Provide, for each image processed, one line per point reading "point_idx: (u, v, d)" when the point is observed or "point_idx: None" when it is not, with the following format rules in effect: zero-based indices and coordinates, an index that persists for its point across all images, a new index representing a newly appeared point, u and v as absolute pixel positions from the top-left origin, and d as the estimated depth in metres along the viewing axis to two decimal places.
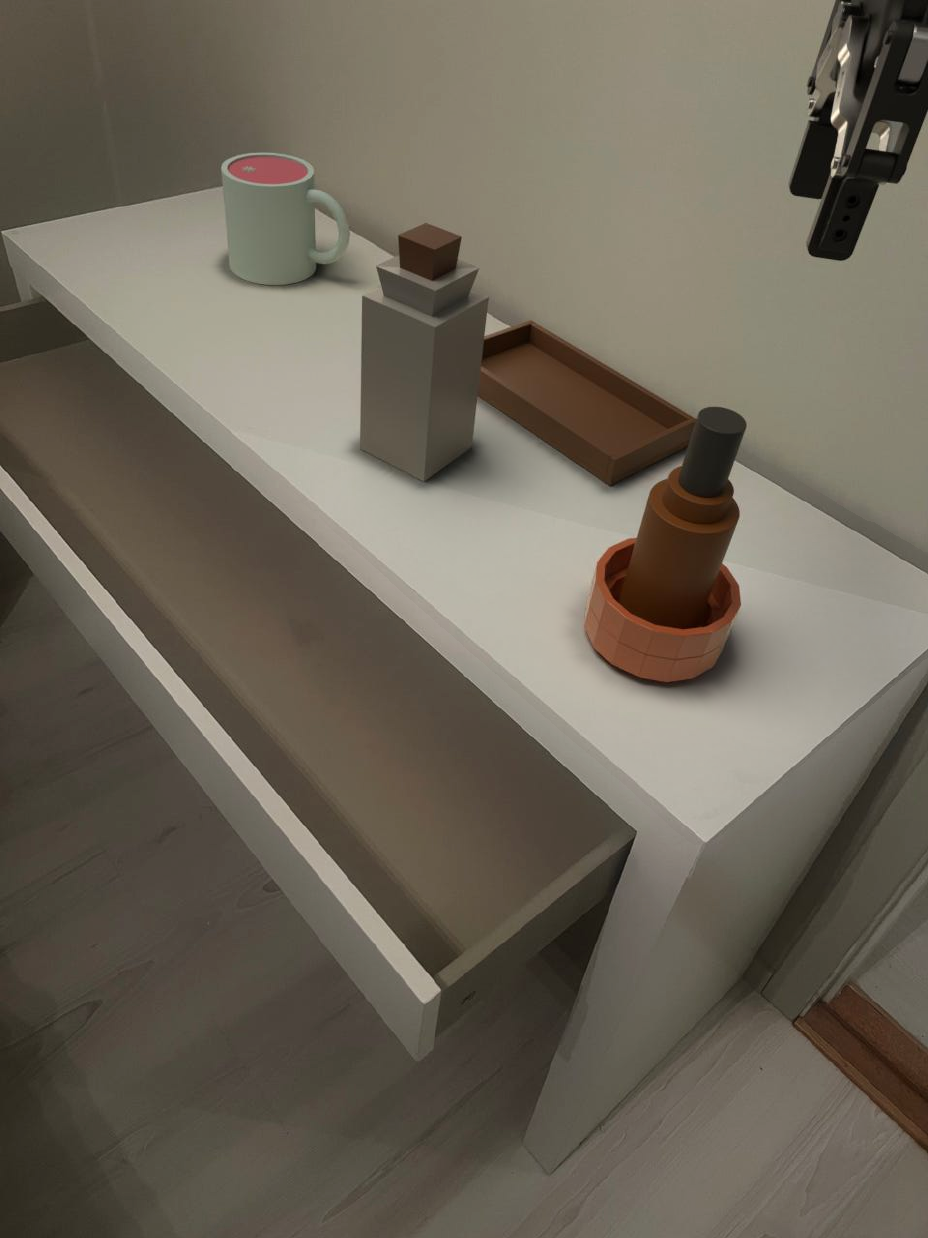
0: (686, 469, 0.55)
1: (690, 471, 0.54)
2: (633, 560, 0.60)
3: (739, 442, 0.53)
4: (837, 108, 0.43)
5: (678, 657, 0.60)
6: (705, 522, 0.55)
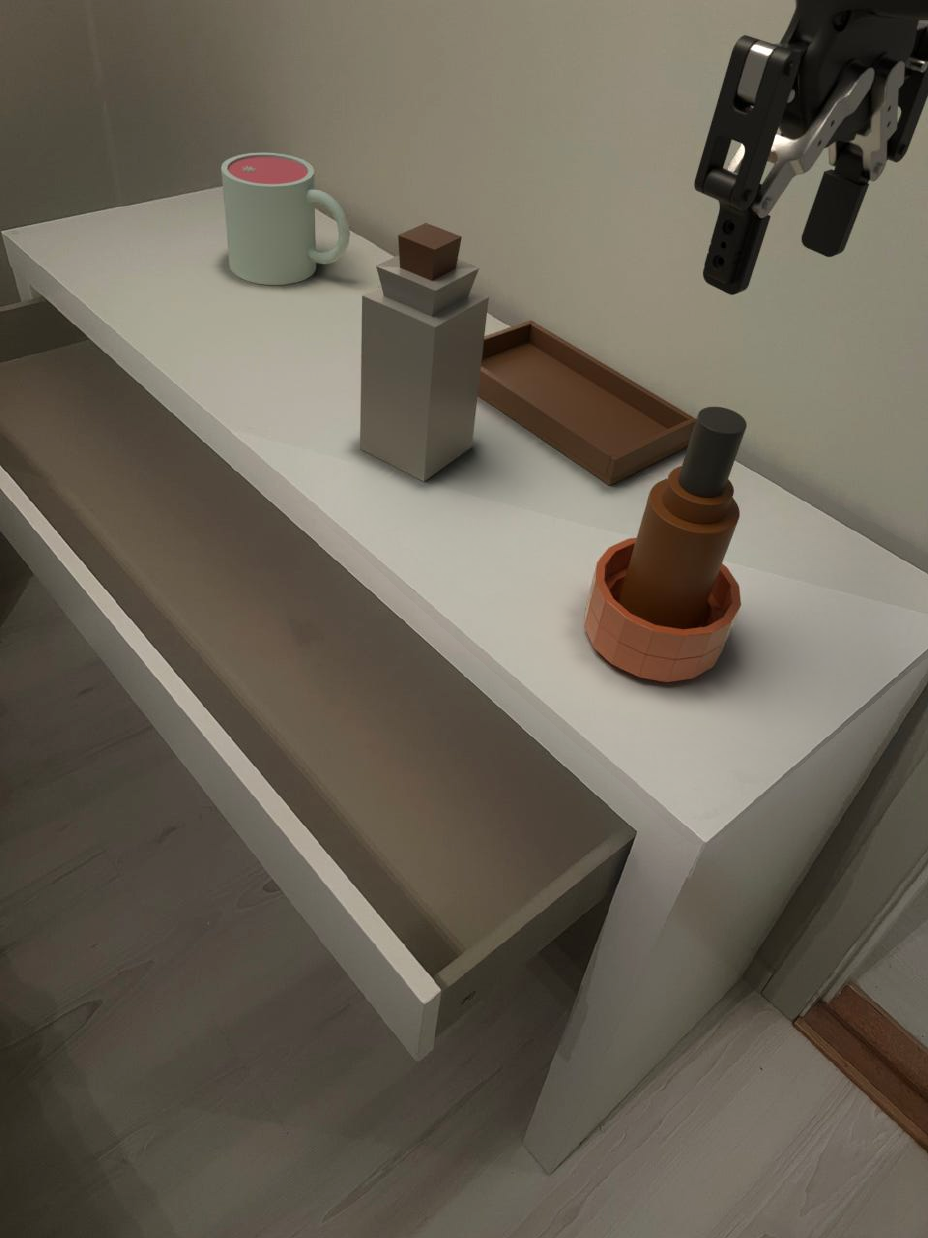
0: (686, 469, 0.55)
1: (690, 471, 0.54)
2: (633, 560, 0.60)
3: (739, 442, 0.53)
4: None
5: (678, 657, 0.60)
6: (705, 522, 0.55)
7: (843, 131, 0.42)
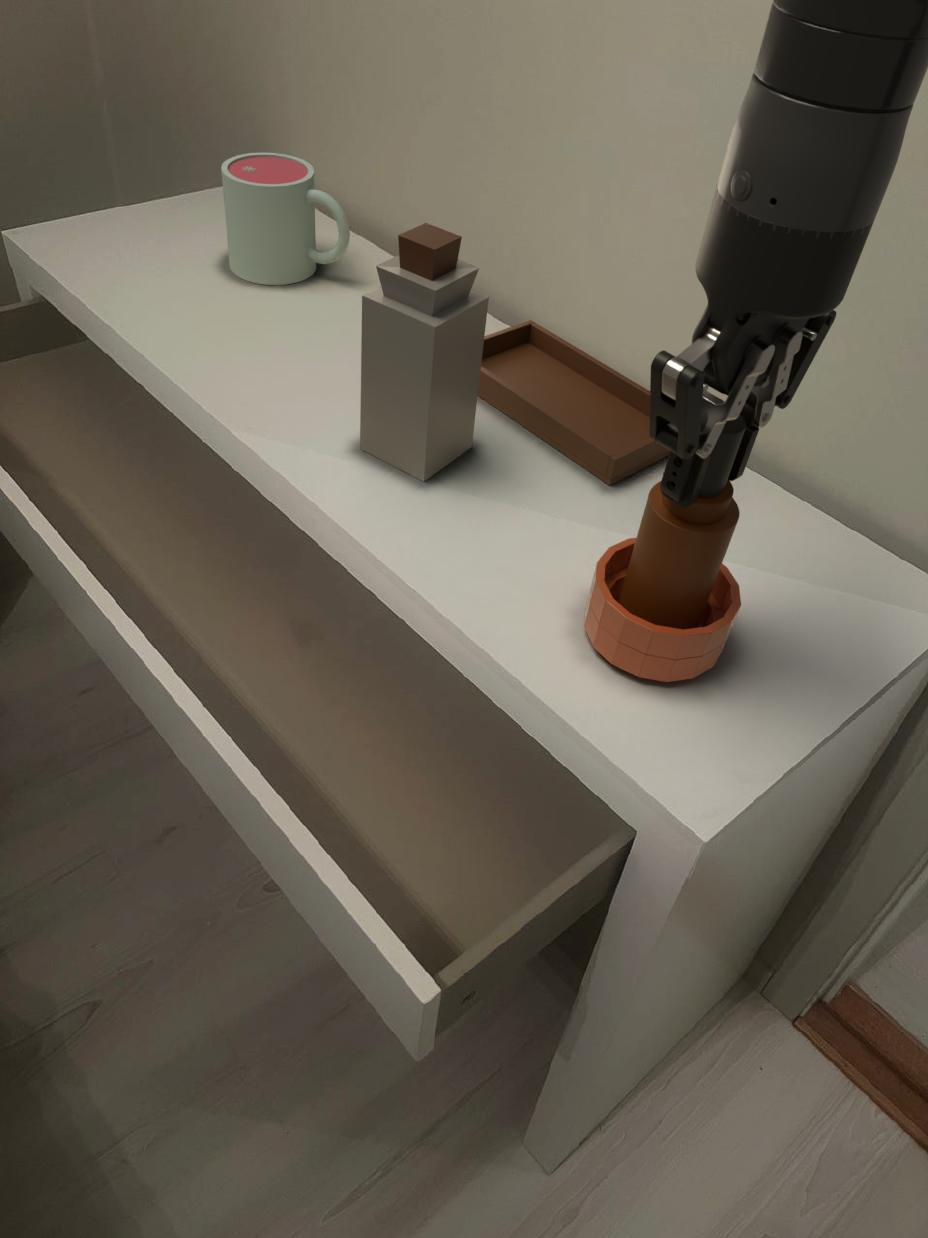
0: None
1: None
2: (633, 560, 0.60)
3: (739, 442, 0.53)
4: None
5: (678, 657, 0.60)
6: (705, 522, 0.55)
7: (754, 381, 0.50)
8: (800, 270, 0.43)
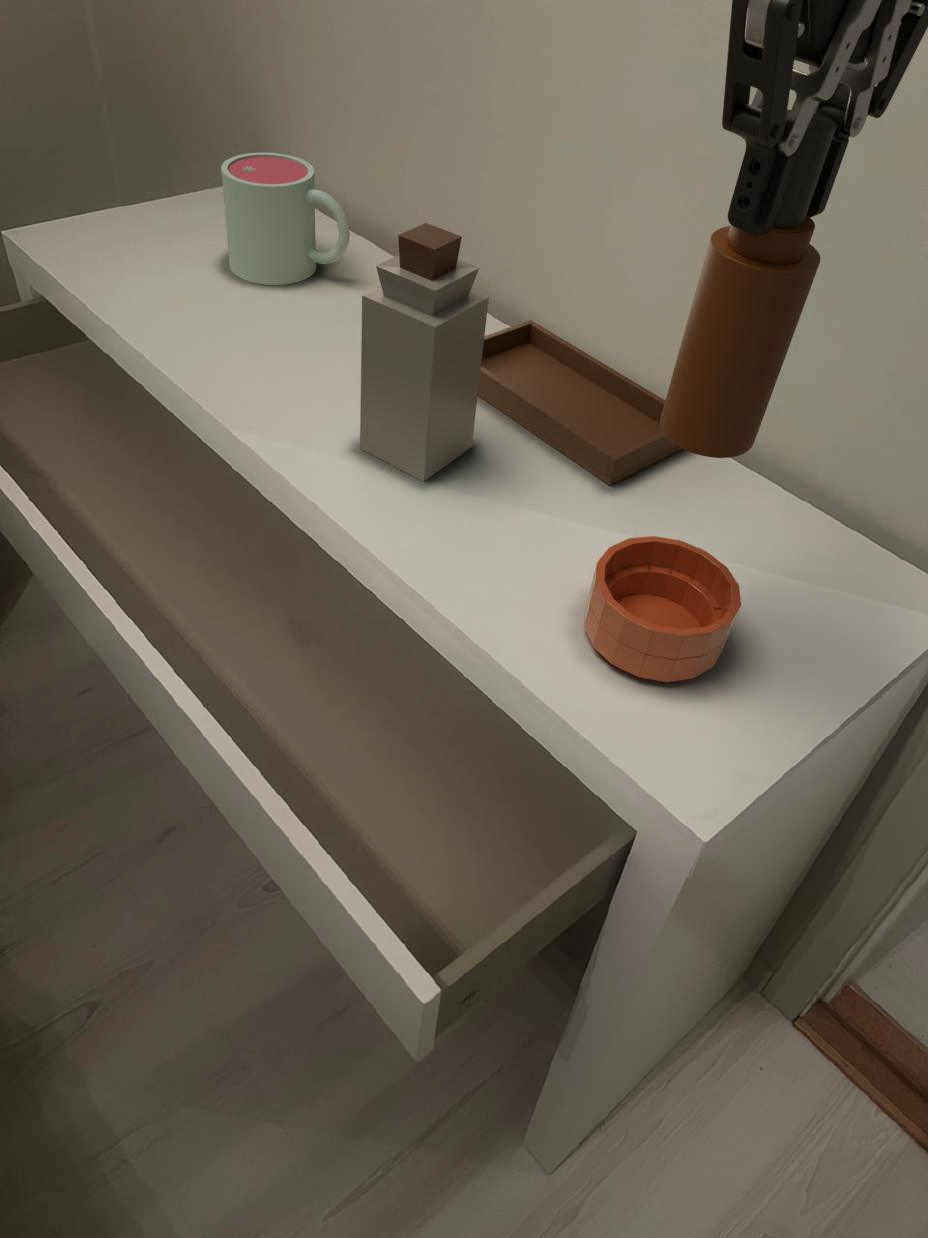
0: None
1: None
2: (688, 330, 0.50)
3: (827, 147, 0.43)
4: None
5: (678, 657, 0.60)
6: (781, 261, 0.46)
7: (853, 51, 0.40)
8: None
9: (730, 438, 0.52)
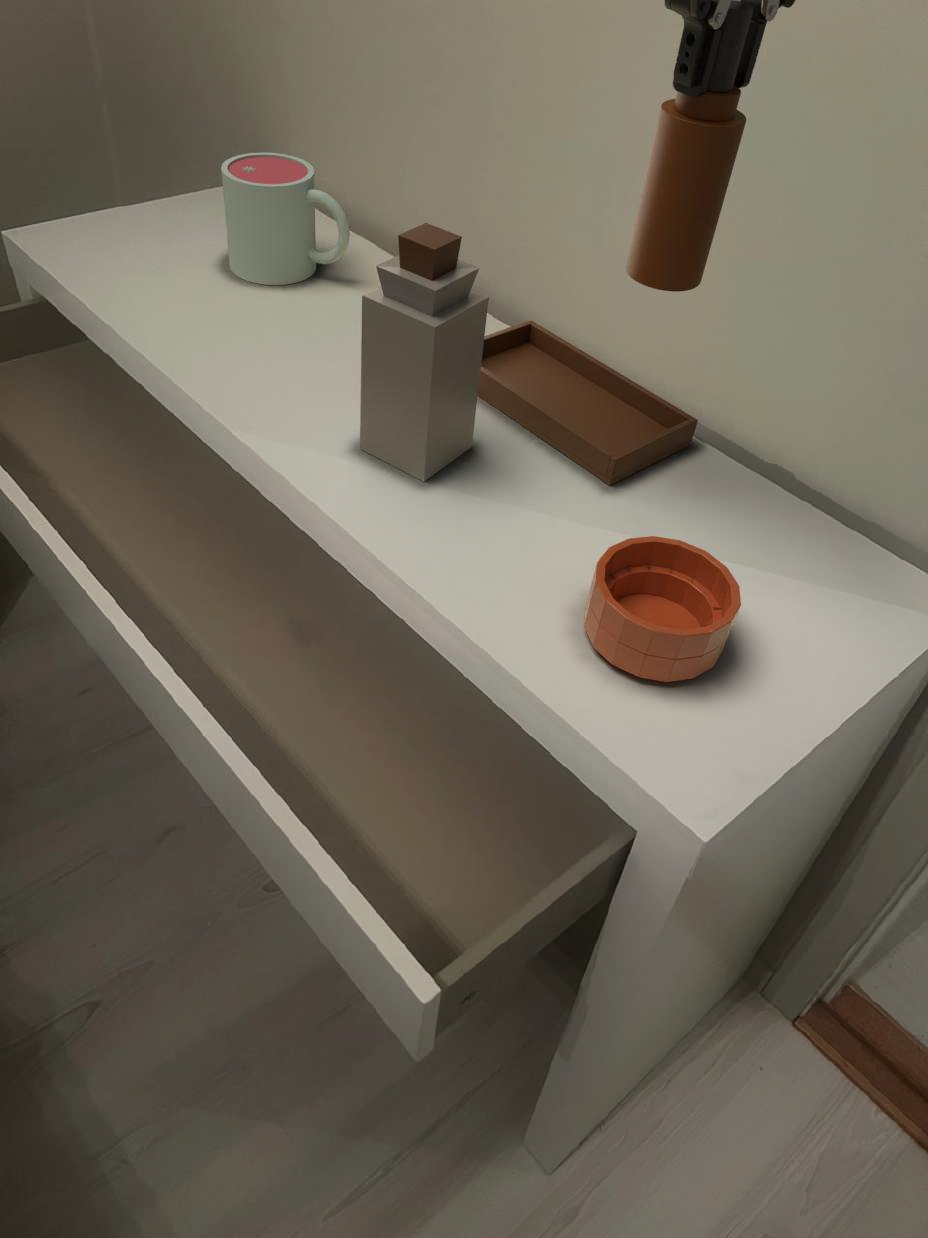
0: None
1: None
2: (646, 182, 0.64)
3: (746, 25, 0.57)
4: None
5: (678, 657, 0.60)
6: (714, 118, 0.59)
7: None
8: None
9: (680, 273, 0.66)
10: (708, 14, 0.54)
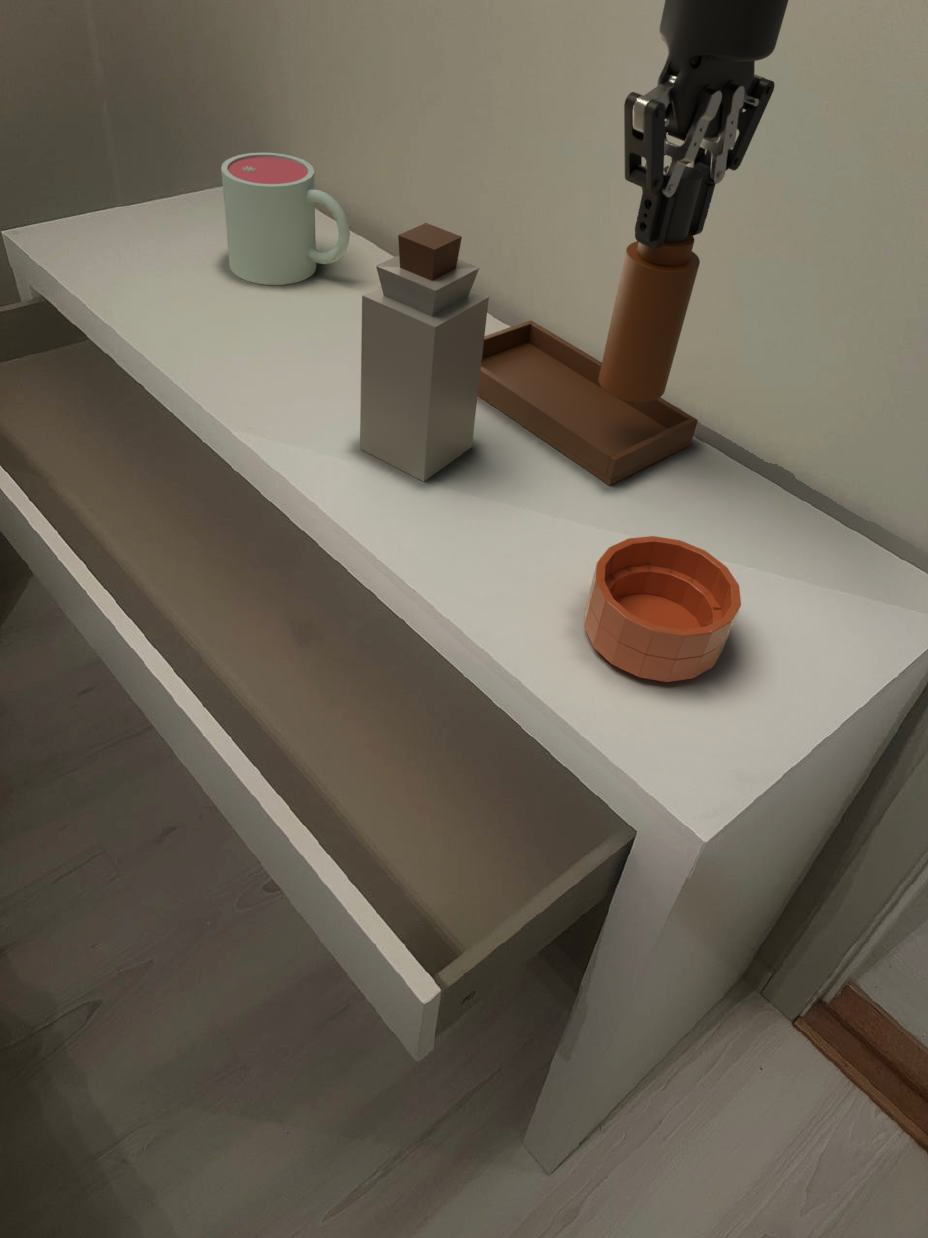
0: None
1: None
2: (614, 311, 0.73)
3: (697, 190, 0.66)
4: None
5: (678, 657, 0.60)
6: (671, 264, 0.69)
7: (708, 131, 0.63)
8: (737, 14, 0.56)
9: (645, 387, 0.75)
10: (662, 186, 0.64)
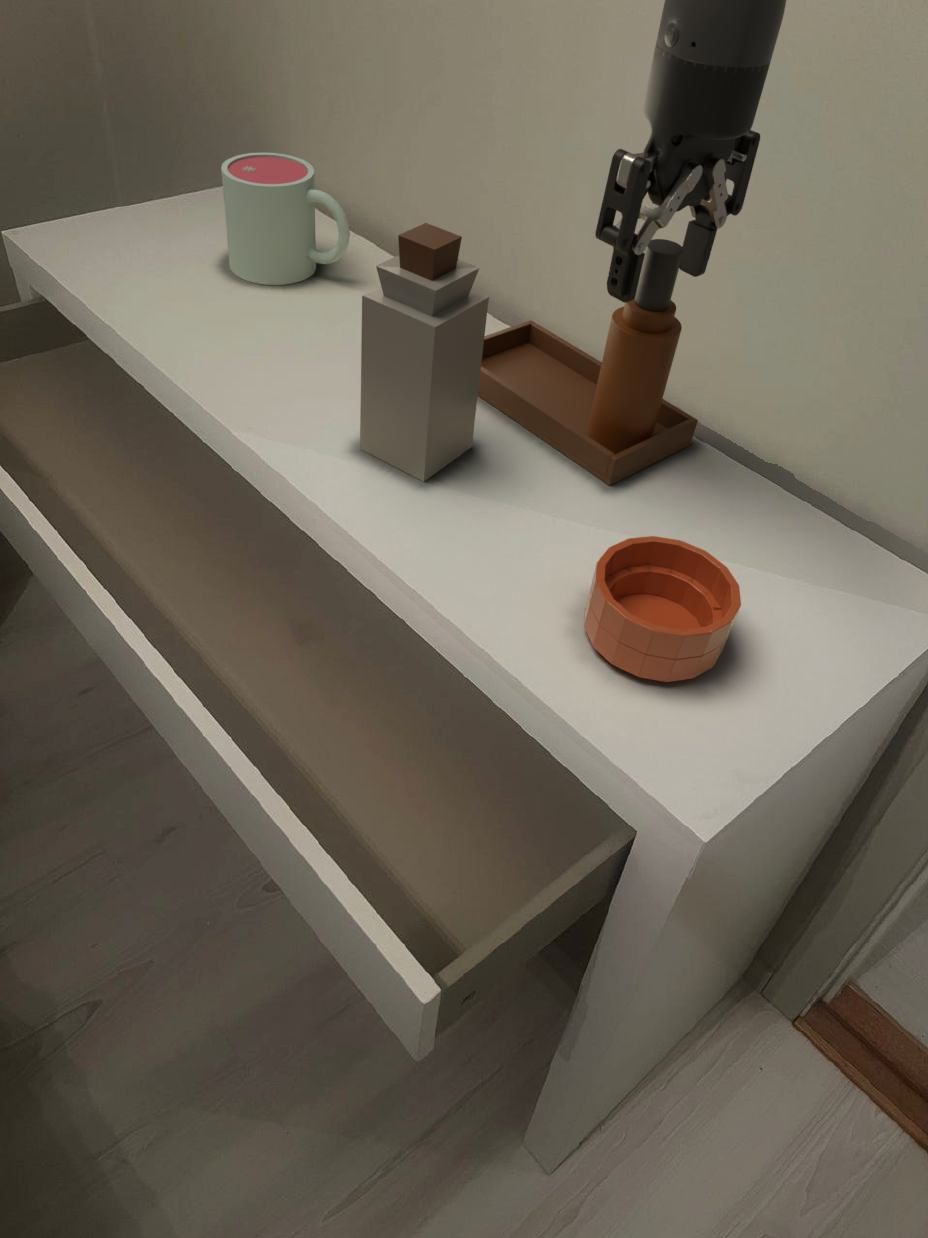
0: (639, 289, 0.71)
1: (642, 290, 0.71)
2: (601, 372, 0.77)
3: (678, 263, 0.70)
4: None
5: (678, 657, 0.60)
6: (654, 331, 0.72)
7: (690, 200, 0.67)
8: (715, 98, 0.59)
9: (630, 443, 0.79)
10: (632, 244, 0.65)
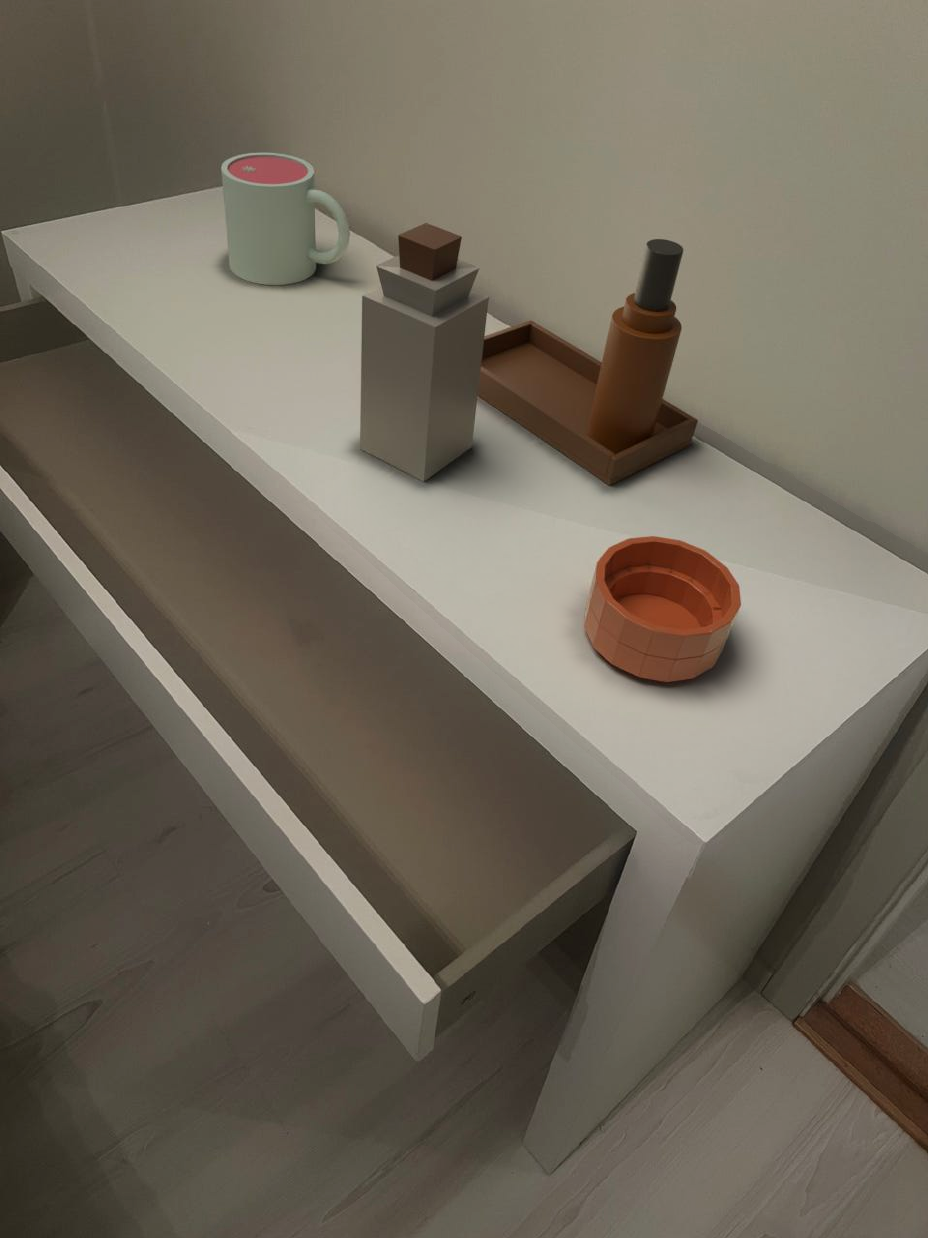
0: (639, 289, 0.71)
1: (642, 290, 0.71)
2: (601, 372, 0.77)
3: (678, 263, 0.70)
4: None
5: (678, 657, 0.60)
6: (654, 331, 0.72)
7: None
8: None
9: (630, 443, 0.79)
10: None
